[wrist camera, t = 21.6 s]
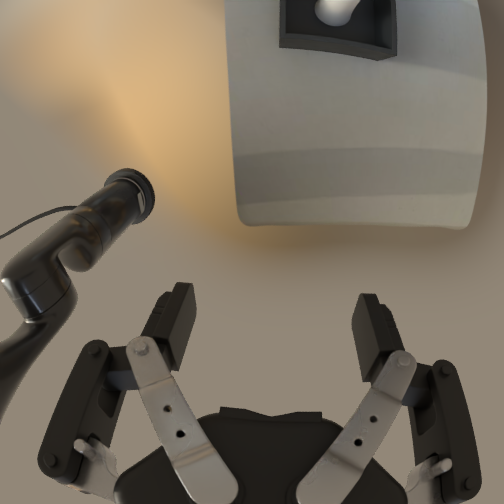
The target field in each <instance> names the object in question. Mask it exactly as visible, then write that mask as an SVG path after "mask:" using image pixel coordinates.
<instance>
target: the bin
mask: <svg viewBox="0 0 504 504" xmlns="http://www.w3.org/2000/svg"><path fill="white" fill-rule="evenodd" d="M317 1H318V0H280V33H279V48H293V49H305V50H315V51H324V52H332V53H339V54H345V55H351V56H357V57H362V58H367V59H372V60H376V61H379V60H382V59H386V58H390V57H394V56H397V21H396V2H395V0H360V1H359V3H358V4H357V6H356V7H355V8H354V10H353V12H352V14H351V18H350V20H349V21H348V22H347V23H346V24H344V25H342V26H330V25H327V24H325V23H323V22H322V21H321V20H320V19H319V18H318V17H317V16H316V13H315V4H316V2H317Z"/></svg>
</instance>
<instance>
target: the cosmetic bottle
mask: <svg viewBox="0 0 504 504" xmlns="http://www.w3.org/2000/svg"><path fill="white" fill-rule="evenodd" d="M359 1H360V0H318V1H317V2H316V4H315V13H316V16H317V17H318V18H319V19H320V20H321V21H322V22H323V23H325V24H327V25H330V26H342V25H344V24H346V23H347V22H348V21H349V20H350V18H351V14H352V12H353V10H354V8H355V7H356V6H357V4H358V3H359Z"/></svg>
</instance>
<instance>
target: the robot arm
mask: <svg viewBox="0 0 504 504" xmlns="http://www.w3.org/2000/svg"><path fill="white" fill-rule="evenodd" d="M145 207H146V196H145V193H144V191H143V189H142V187H141V186H140V185H139V184H138V183H137V182H136V181H135V180H133V179H131V178H128V177H119V178H117V179H115V180H113V181H112V182H111V183H110V184H108V185H106V186H105V187H103V188H102V189H101V190H99V191H97V192H96V193H95V194H93V195H92V196H90V197H89V198H88V199H86V200H85V201H84V202H82V203H81V204H80V205H79V206H63V207H58V208H55V209H52V210H50V211H47V212H44V213H42V214H40V215H37V216H35V217H33V218H31V219H29V220H27V221H25V222H23V223H22V224H20V225H18V226H17V227H15V228H13V229H12V230H10V231H8V232H7V233H5V234H3V235H1V236H0V239H1V238H3V237H5V236H7V235H9V234H11V233H12V232H14V231H16V230H17V229H19V228H21V227H23V226H24V225H26V224H28V223H30V222H32V221H34V220H37V219H39V218H42V217H44V216H47V215H50V214H52V213H55V212H59V211H64V210H72V211H71V212H70V213H68V214H67V215H66V216H64V217H63V218H62V219H61V220H59V221H58V222H57V223H55V224H54V225H53V226H51V227H50V228H49V229H48V230H46V231H45V232H44V233H43V234H42V235H40V236H39V237H38V238H37V239H35V240H34V241H33V242H32V243H30V244H29V245H27V246H26V247H25V248H24V249H22V250H21V251H20V252H18V253H17V254H16V255H15V256H14V257H13V258H12V259H11V260H10V261H9V262H8V263H7V264H6V265H5V267H4V268H3V270H2V273H1V278H0V279H1V283H2V285H3V287H4V289H5V290H6V292H7V293H8V295H9V297H10V298H11V300H12V301H13V303H14V304H15V306H16V307H17V309H18V310H19V312H20V313H21V315H22V316H23V317H24V321H23V323H22V324H21V326H20V327H19V328H18V329H17V331H16V332H14V333H13V334H12V335H11V336H10V337H9V338H8V339H6V340H4V341H2V342H0V423H1V421H2V418H3V416H4V414H5V411H6V410H7V408H8V405H9V403H10V401H11V400H12V398H13V396H14V394H15V392H16V390H17V389H18V387H19V385H20V383H21V382H22V380H23V378H24V377H25V375H26V373H27V372H28V370H29V369H30V367H31V366H32V365H33V363H34V362H35V361H36V359H37V358H38V357H39V355H40V354H41V353H42V352H43V350H44V349H45V348H46V346H47V345H48V344H49V343H50V341H51V340H52V339H53V337H54V336H55V335H56V334H57V333H58V331H59V330H60V329H61V328H62V326H63V325H64V324H65V323H66V321H67V320H68V318H69V317H70V316H71V314H72V312H73V311H74V309H75V307H76V304H77V301H78V294H77V292H76V289H75V287H74V285H73V283H72V281H71V279H70V278H69V276H68V274H67V272H66V270H65V268H64V266H65V267H67V268H68V269H71V270H73V271H76V272H86V271H88V270H90V269H91V268H92V267H93V266H94V265H95V264H96V263H97V262H98V260H100V258H101V257H102V256H103V255H104V254H105V252H106V251H107V250H108V249H109V248H110V247H111V245H112V244H113V243H114V242H115V241H116V240H117V239H118V238H119V237H120V236H121V235H122V234H123V233H124V232H125V230H126V229H127V228H128V227H129V226H130V225H131V224H132V223H133V222H134V221H135V220H136V219H137V218H138V217H139V216H140V215H141V214H142V213H143V212H144V210H145ZM62 264H63V265H64V266H63V265H62ZM195 318H196V301H195V294H194V287H193V284H192V283H183V282H177V283H176V284H175V287H174V289H173V291H172V292H165V293H164V294H163V295H162V296H161V297H159V298H158V300H157V302H156V305H155V307H154V309H153V311H152V313H151V315H150V317H149V319H148V321H147V323H146V325H145V327H144V329H143V331H142V333H141V335H140V336H139V337H137V338H134V339H132V340H131V341H130V342H129V343H128V345H127V346H122V347H111V348H110V347H109V346H108V344H107V343H106V342H104V341H102V340H93V341H90V342H88V343H87V344H86V345H85V346H84V347H83V349H82V351H81V353H80V355H79V357H78V359H77V361H76V363H75V365H74V367H73V370H72V371H71V374H70V376H69V378H68V380H67V383H66V384H65V387H64V389H63V391H62V394H61V396H60V398H59V401H58V403H57V405H56V408H55V410H54V413H53V415H52V418H51V420H50V423H49V425H48V428H47V431H46V433H45V436H44V439H43V442H42V445H41V447H40V450H39V454H38V458H37V460H38V465H39V467H40V469H41V471H42V472H43V473H44V474H45V475H47V476H49V477H51V478H52V479H55V480H56V481H57V482H59V483H61V484H63V485H65V486H67V487H69V488H71V489H74V490H78V491H80V492H83V493H85V494H94V495H97V496H100V497H102V498H105V499H108V500H111V501H114V502H115V504H459V503H462V502H464V501H467V500H469V499H472V498H473V497H474V496H475V495H476V494H477V493H478V492H479V490H480V488H481V484H482V478H481V470H480V463H479V457H478V451H477V446H476V441H475V436H474V431H473V427H472V423H471V418H470V414H469V410H468V406H467V403H466V399H465V396H464V392H463V389H462V386H461V383H460V379H459V376H458V373H457V370H456V368H455V366H454V365H453V364H452V363H451V362H449V361H447V360H438V361H436V362H435V363H434V364H433V366H430V365H425V364H420V363H417V362H416V360H415V358H414V357H413V356H412V355H411V354H410V353H408V352H406V351H405V349H404V346H403V343H402V340H401V337H400V335H399V332H398V329H397V328H396V324H395V321H394V318H393V315H392V313H391V311H390V310H389V309H388V308H387V307H386V305H385V304H380V303H379V301H378V298H377V296H376V294H364V293H361V294H360V295H359V298H358V301H357V304H356V307H355V310H354V313H353V317H352V331H353V335H354V340H355V345H356V350H357V354H358V360H359V365H360V370H361V376H362V380H363V382H371V388H370V389H369V391H368V393H367V394H366V396H365V397H364V399H363V400H362V402H361V403H360V405H359V406H358V408H357V409H356V411H355V412H354V414H353V415H352V417H351V418H350V419H349V421H348V422H347V424H346V425H345V426H344V428H343V427H341V426H340V425H338V424H337V423H335V422H333V421H330V420H327V419H324V418H322V412H294V413H289V414H284V415H279V416H273V417H271V416H267V415H263V414H259V413H256V412H253V411H250V410H246V409H239V408H229V407H220V412H219V413H213V414H209V415H206V416H203V417H201V418H199V419H196V418H195V416H194V414H193V412H192V411H191V409H190V407H189V405H188V404H187V402H186V400H185V398H184V396H183V394H182V392H181V391H180V389H179V387H178V385H177V383H176V381H175V379H174V377H173V376H172V375H171V374H170V373H171V370H174V371H179V368H180V365H181V362H182V359H183V356H184V353H185V349H186V346H187V343H188V340H189V337H190V334H191V331H192V328H193V324H194V322H195ZM127 390H139V393H140V396H141V398H142V401H143V403H144V406H145V408H146V410H147V413H148V415H149V417H150V419H151V422H152V424H153V426H154V428H155V431H156V433H157V435H158V437H159V439H160V441H161V443H162V446H160V447H159V448H158V449H156V450H155V451H153V452H152V453H151V454H149V455H148V456H146V457H145V458H144V459H142V460H141V461H139V462H138V463H136V464H135V465H133V466H132V467H130V468H129V469H127V470H126V471H125V472H123V473H122V474H121V475H120V476H119V475H118V473H117V471H116V457H115V455H114V453H113V452H112V451H111V450H110V449H109V447H110V444H111V440H112V437H113V433H114V429H115V426H116V423H117V420H118V416H119V413H120V410H121V406H122V404H123V400H124V397H125V394H126V391H127ZM402 405H404V406H408V411H409V417H410V424H411V431H412V438H413V447H414V457H415V467H414V468H413V469H412V470H411V471H410V473H409V475H408V481H407V486H406V488H405V489H404V488H403V487H402V486H401V485H400V484H399V483H398V482H397V481H396V480H395V479H394V478H393V477H392V476H391V475H390V474H389V473H388V472H387V471H386V470H385V469H383V467H382V466H381V465H380V464H379V463H378V462H377V461H376V460H375V459H374V458H373V455H374V454H375V452H376V450H377V449H378V447H379V446H380V444H381V442H382V441H383V439H384V437H385V436H386V434H387V432H388V430H389V428H390V426H391V424H392V423H393V421H394V419H395V418H396V416H397V414H398V412H399V410H400V408H401V406H402Z"/></svg>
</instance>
